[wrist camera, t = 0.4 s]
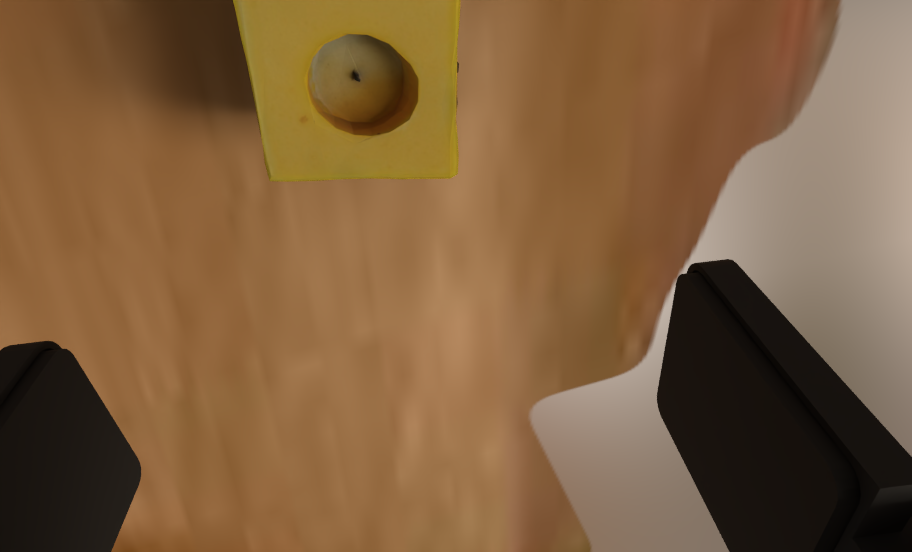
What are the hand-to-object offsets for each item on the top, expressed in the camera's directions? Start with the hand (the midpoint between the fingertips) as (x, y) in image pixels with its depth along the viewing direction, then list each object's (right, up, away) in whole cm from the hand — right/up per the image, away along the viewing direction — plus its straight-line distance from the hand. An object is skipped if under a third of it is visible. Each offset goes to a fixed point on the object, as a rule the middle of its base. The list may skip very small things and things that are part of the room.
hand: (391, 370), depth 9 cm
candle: (-5, +16, +26) cm, 31 cm away
